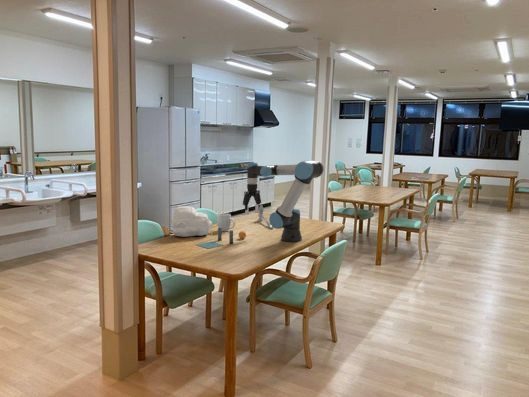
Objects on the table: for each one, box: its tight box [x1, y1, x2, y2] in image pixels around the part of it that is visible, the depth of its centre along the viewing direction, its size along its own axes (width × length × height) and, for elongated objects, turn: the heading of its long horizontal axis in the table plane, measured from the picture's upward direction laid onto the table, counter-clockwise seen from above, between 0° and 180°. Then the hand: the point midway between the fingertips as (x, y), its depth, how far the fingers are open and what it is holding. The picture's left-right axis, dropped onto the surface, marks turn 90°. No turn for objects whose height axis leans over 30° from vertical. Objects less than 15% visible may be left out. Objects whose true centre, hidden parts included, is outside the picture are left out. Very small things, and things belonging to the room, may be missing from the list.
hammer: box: [257, 203, 274, 230], centre depth 374 cm, size 5×16×40 cm
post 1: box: [217, 227, 223, 242], centre depth 314 cm, size 3×3×9 cm
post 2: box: [228, 230, 234, 245], centre depth 306 cm, size 3×3×9 cm
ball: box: [238, 230, 247, 240], centre depth 321 cm, size 6×6×6 cm
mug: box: [216, 212, 236, 232], centre depth 346 cm, size 15×11×13 cm
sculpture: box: [171, 205, 213, 238], centre depth 330 cm, size 26×22×30 cm
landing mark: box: [195, 241, 224, 250], centre depth 301 cm, size 14×14×1 cm
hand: (251, 213), depth 326 cm, fingers open, 9 cm apart
